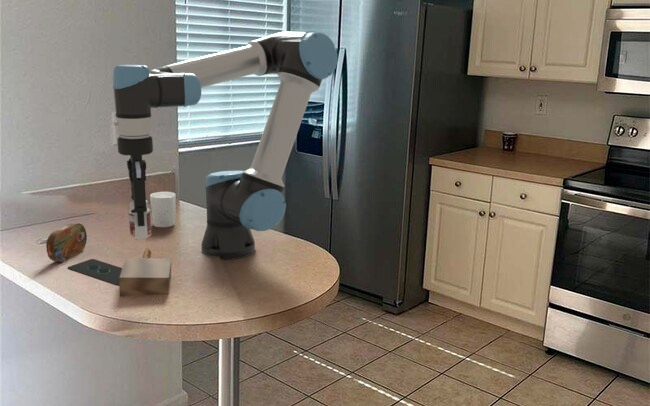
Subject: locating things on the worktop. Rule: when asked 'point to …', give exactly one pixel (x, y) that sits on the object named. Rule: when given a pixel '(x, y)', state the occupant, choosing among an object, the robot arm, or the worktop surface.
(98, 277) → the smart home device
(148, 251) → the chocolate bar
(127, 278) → the wooden block
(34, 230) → the worktop surface
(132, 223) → the pill bottle
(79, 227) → the tin
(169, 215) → the white cup
